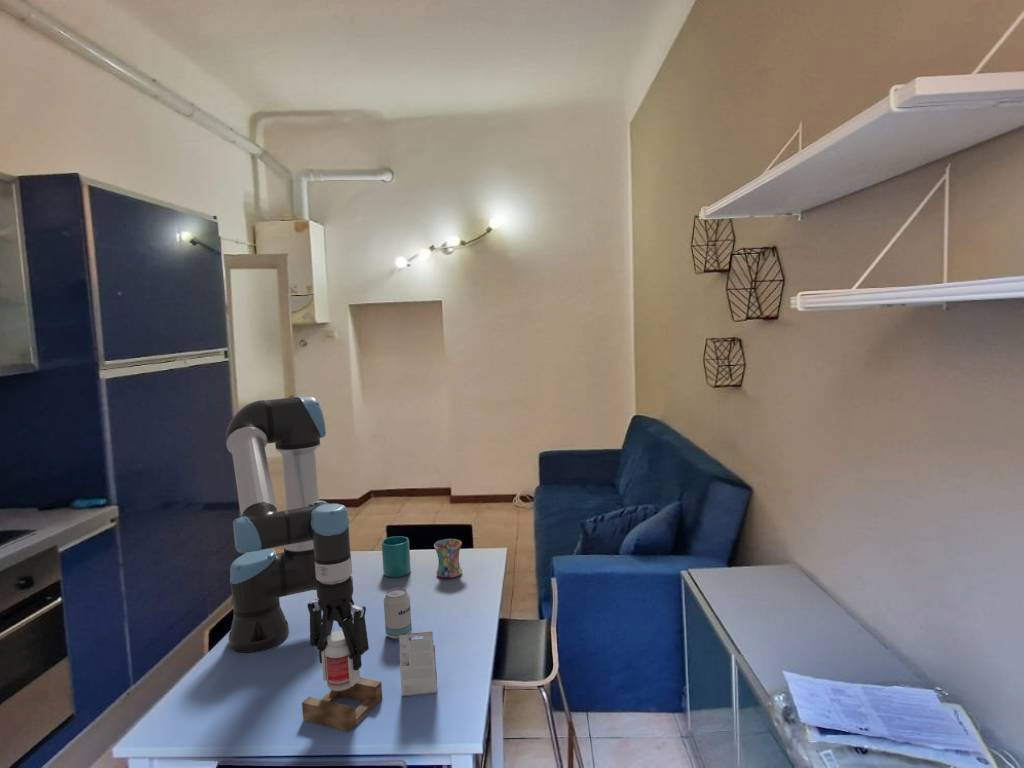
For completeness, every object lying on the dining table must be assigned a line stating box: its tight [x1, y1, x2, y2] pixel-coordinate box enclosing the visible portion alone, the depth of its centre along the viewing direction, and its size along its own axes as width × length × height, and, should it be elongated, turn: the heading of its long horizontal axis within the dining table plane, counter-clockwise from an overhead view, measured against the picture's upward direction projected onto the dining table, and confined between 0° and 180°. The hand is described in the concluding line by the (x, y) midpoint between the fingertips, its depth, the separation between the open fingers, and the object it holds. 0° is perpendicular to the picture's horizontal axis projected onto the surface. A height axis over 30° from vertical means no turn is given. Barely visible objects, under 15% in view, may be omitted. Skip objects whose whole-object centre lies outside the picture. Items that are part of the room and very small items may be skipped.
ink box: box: [398, 631, 438, 697], centre depth 141 cm, size 4×8×15 cm, turn 96°
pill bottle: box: [325, 630, 352, 691], centre depth 135 cm, size 6×6×11 cm
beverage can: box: [383, 587, 413, 641], centre depth 167 cm, size 7×7×12 cm
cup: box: [381, 535, 412, 578], centre depth 211 cm, size 9×12×11 cm
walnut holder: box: [301, 676, 383, 733], centre depth 136 cm, size 12×12×4 cm
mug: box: [433, 538, 463, 579], centre depth 205 cm, size 12×9×11 cm
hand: (341, 679), depth 135 cm, fingers closed on pill bottle, 6 cm apart
